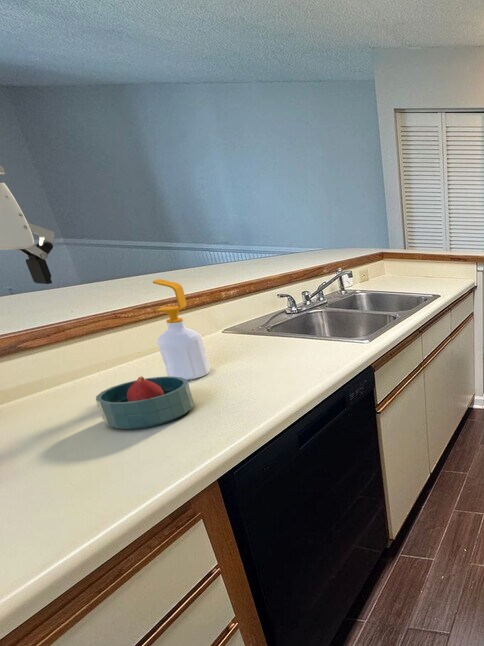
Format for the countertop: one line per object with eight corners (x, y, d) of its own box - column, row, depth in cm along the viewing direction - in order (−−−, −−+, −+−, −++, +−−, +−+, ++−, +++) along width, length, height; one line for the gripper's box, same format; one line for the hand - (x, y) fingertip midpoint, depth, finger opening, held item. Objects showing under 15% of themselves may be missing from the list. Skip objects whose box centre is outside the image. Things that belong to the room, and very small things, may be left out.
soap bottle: (176, 370, 114) (149, 277, 104) (215, 367, 116) (191, 277, 107) (162, 382, 106) (131, 283, 96) (204, 379, 108) (177, 282, 99)
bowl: (87, 426, 84) (75, 399, 82) (159, 398, 97) (151, 373, 95) (144, 435, 81) (135, 407, 79) (211, 405, 94) (204, 380, 92)
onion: (127, 419, 85) (114, 382, 82) (142, 407, 91) (130, 372, 88) (160, 416, 87) (149, 380, 84) (173, 404, 92) (162, 370, 89)
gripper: (14, 175, 71) (54, 279, 77) (-158, 163, 55) (-90, 295, 61) (47, 175, 69) (85, 281, 75) (-120, 163, 53) (-54, 298, 60)
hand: (6, 287), depth 68 cm, fingers open, 9 cm apart
